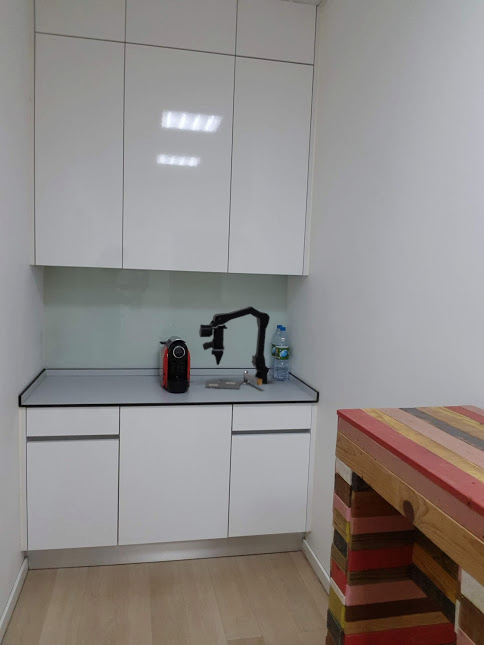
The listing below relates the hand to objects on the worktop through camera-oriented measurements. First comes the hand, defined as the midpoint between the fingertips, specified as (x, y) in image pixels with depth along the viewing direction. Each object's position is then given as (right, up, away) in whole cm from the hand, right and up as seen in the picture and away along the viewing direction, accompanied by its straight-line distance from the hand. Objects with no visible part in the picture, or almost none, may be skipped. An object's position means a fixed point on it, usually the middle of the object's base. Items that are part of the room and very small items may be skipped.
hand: (217, 364), depth 275 cm
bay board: (+3, -11, -3) cm, 12 cm away
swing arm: (+19, -11, -3) cm, 22 cm away
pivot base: (+15, -11, +4) cm, 19 cm away
